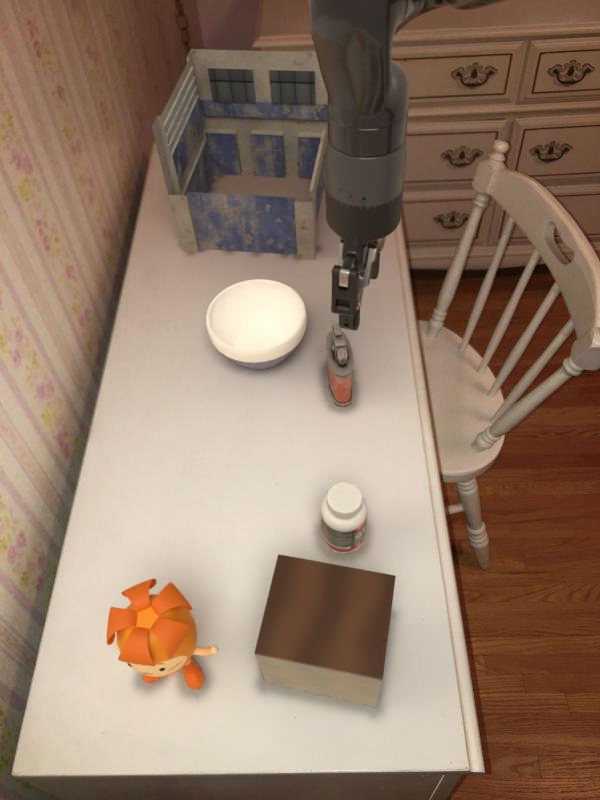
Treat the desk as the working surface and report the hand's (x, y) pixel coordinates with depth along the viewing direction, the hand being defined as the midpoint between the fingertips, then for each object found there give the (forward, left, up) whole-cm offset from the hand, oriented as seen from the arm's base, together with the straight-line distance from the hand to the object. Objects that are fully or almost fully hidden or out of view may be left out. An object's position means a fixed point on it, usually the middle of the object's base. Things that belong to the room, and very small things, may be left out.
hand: (359, 300), depth 74 cm
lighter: (+3, -3, -21) cm, 21 cm away
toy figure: (+14, +38, -21) cm, 45 cm away
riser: (-2, +33, -21) cm, 39 cm away
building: (+24, -40, -21) cm, 51 cm away
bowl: (+16, -8, -21) cm, 27 cm away
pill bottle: (-2, +20, -21) cm, 29 cm away
